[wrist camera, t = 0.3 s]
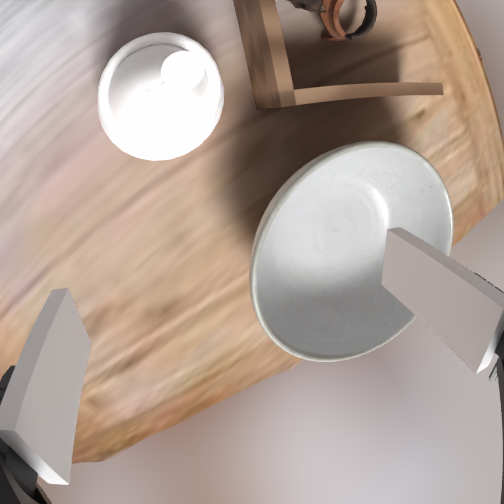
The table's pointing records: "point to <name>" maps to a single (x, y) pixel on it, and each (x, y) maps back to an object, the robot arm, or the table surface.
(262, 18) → the walnut u-shaped frame
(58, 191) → the table surface
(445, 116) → the table surface
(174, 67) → the honey pot
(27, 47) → the table surface
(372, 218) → the decorative bowl
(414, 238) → the robot arm
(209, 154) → the table surface
